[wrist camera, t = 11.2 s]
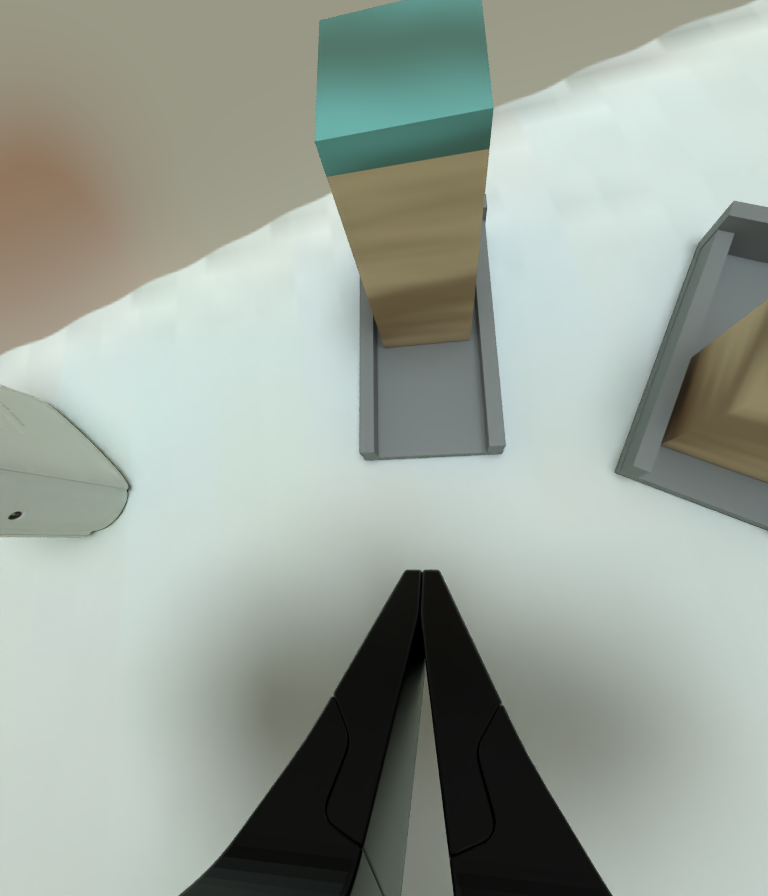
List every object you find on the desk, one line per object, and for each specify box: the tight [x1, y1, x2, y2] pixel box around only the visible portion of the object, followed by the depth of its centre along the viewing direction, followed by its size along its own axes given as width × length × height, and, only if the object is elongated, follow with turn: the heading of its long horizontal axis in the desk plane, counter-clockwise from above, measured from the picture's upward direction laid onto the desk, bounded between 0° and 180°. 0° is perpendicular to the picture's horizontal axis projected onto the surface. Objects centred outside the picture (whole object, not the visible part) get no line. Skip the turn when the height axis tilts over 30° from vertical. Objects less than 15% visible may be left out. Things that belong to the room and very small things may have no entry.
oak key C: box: [315, 0, 493, 348], centre depth 15 cm, size 4×4×11 cm
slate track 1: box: [359, 194, 506, 460], centre depth 19 cm, size 13×7×2 cm, turn 1°
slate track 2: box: [615, 201, 768, 530], centre depth 16 cm, size 13×7×2 cm, turn 155°
